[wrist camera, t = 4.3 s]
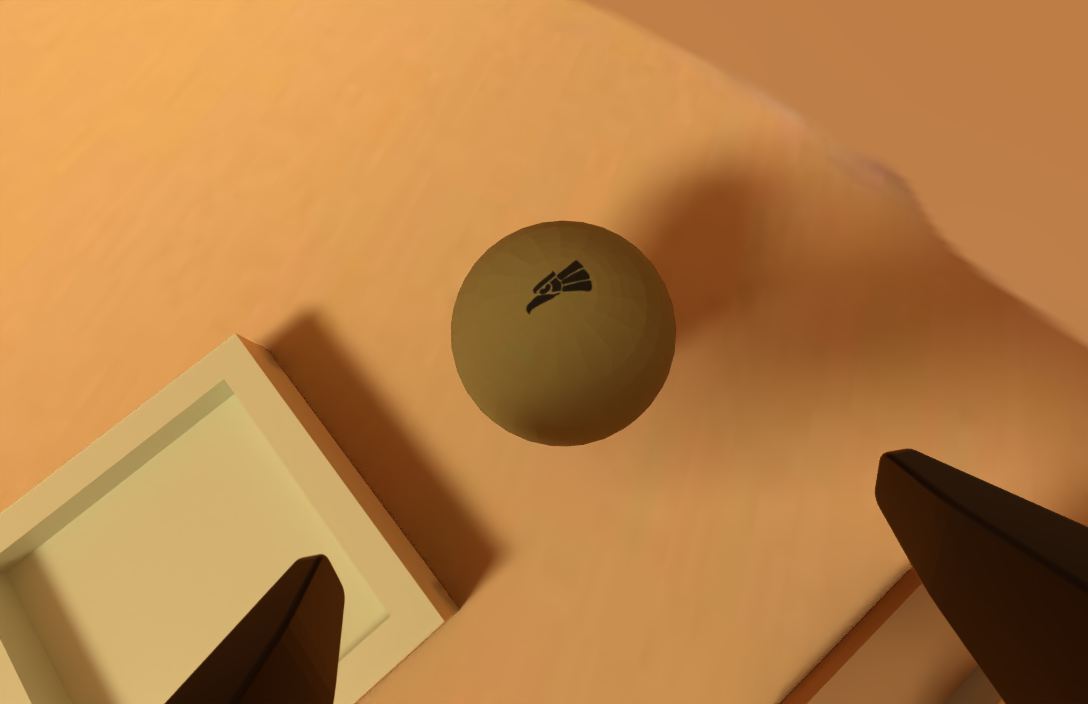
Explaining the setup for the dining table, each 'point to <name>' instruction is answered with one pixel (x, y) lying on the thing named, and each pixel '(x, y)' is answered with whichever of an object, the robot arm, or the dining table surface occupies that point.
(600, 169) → the dining table surface
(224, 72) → the dining table surface
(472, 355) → the light bulb
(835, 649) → the bookend
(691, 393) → the dining table surface
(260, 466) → the tray
